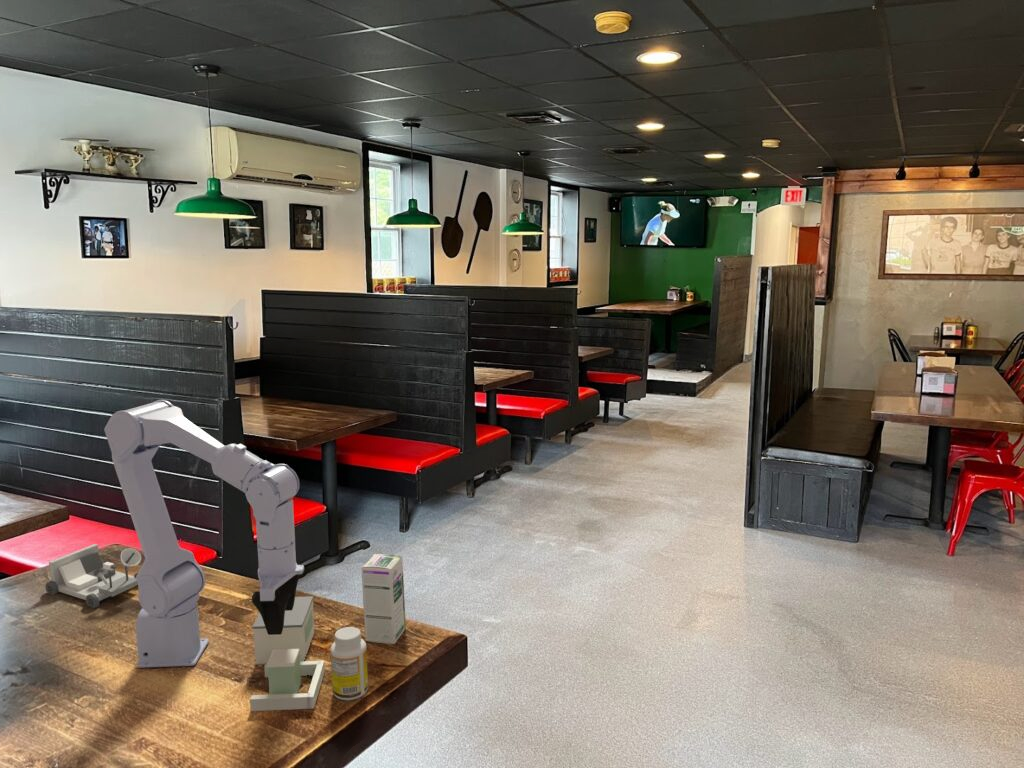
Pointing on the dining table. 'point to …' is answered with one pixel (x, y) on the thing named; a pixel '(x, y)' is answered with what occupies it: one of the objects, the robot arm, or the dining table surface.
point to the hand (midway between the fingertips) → (280, 621)
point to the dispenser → (286, 631)
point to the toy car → (91, 575)
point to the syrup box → (383, 598)
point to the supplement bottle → (349, 664)
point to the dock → (292, 699)
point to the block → (284, 671)
